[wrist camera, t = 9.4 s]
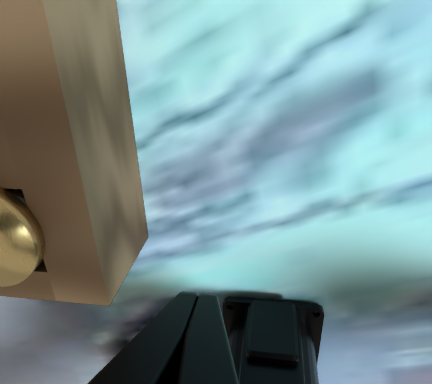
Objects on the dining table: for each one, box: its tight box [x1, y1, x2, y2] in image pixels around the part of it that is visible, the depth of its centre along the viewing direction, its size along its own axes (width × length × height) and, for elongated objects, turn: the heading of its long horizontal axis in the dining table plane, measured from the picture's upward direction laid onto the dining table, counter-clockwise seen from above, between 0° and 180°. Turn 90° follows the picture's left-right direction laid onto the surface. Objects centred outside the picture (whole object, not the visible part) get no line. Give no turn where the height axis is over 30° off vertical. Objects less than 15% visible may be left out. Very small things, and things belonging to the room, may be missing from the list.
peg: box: [0, 186, 46, 287], centre depth 18 cm, size 5×5×6 cm
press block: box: [0, 0, 148, 306], centre depth 16 cm, size 19×10×6 cm, turn 2°
